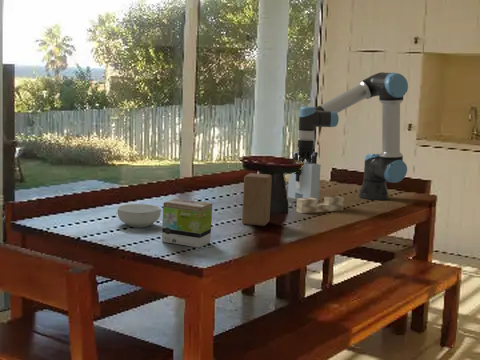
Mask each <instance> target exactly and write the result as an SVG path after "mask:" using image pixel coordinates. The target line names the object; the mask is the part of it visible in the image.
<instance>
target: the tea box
mask: <svg viewBox="0 0 480 360" xmlns="http://www.w3.org/2000/svg"><path fill="white" fill-rule="evenodd" d="M212 216H213V203H212V202H204V201H197V200H189V199H183V198H174V199H171V200H168V201H164V202H163V209H162V226H161V227H162V229H161V230H162V232H161V242H162V243H167V244H168V243H169V244H175V245H182V246H186V247H193V248H198V249H199V248H202V247H204V246H206V245H207V244H210V242H211V239H212V238H211V235H212V221H213V220H212V219H213V217H212Z"/></svg>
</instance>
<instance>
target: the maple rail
mask: <svg viewBox="0 0 480 360" xmlns="http://www.w3.org/2000/svg"><path fill="white" fill-rule="evenodd" d="M344 205H345V197H343V196H339V195H337V196H336V195H334V196H324V197H323V202H322V203H317V199H315V198H297V199H296V208H295V209H296V210H295V212H297V213H300V214H311V213H326V212H339V211H341V212H342V211H344Z"/></svg>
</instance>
